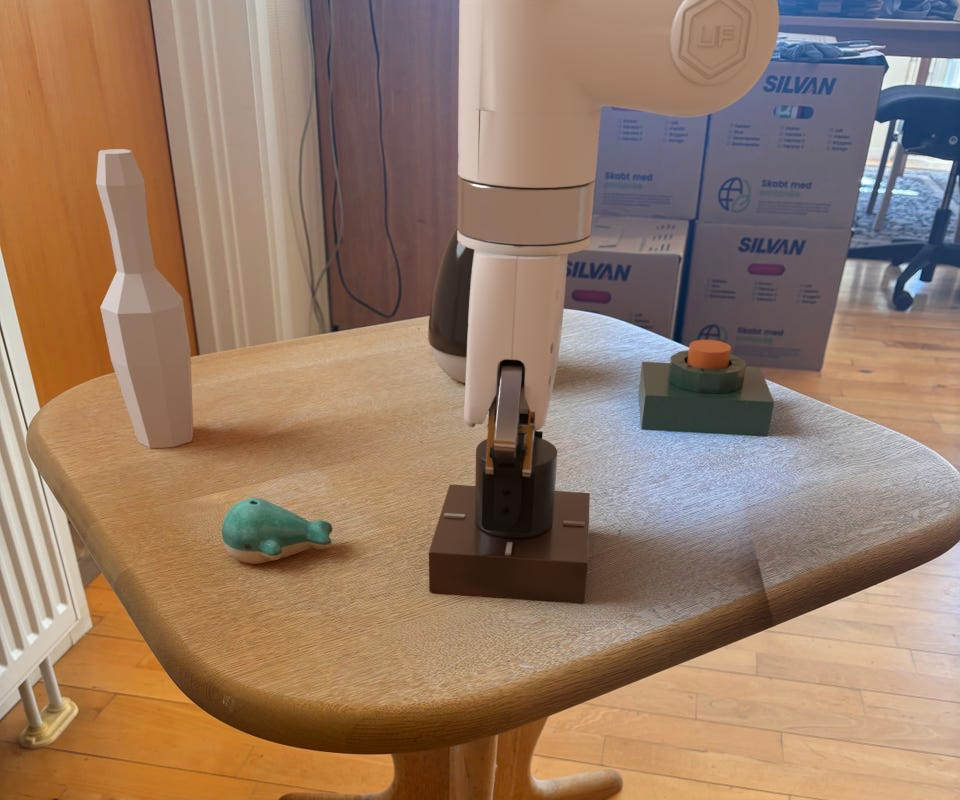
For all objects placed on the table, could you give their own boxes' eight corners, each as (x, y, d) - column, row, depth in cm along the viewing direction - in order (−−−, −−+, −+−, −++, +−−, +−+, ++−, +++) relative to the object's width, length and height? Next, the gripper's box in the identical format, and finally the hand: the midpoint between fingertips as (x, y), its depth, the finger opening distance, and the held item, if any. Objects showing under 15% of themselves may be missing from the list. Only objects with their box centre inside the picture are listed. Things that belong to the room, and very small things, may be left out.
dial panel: (586, 530, 70) (590, 490, 68) (584, 603, 62) (588, 560, 60) (449, 521, 71) (449, 481, 69) (429, 592, 63) (428, 549, 61)
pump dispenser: (469, 403, 90) (471, 230, 82) (409, 371, 97) (404, 209, 89) (553, 382, 95) (563, 217, 87) (490, 353, 102) (493, 197, 94)
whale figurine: (232, 532, 69) (225, 483, 67) (336, 530, 69) (332, 482, 67) (218, 573, 64) (210, 522, 62) (330, 572, 65) (325, 521, 62)
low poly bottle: (136, 457, 79) (76, 160, 67) (120, 430, 84) (61, 147, 71) (213, 443, 82) (169, 155, 69) (193, 418, 86) (149, 143, 74)
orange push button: (725, 359, 88) (728, 340, 87) (730, 373, 85) (733, 353, 84) (685, 357, 88) (688, 338, 87) (688, 371, 85) (691, 351, 84)
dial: (478, 500, 67) (479, 427, 64) (553, 504, 67) (558, 431, 64) (471, 536, 63) (472, 460, 60) (551, 540, 62) (556, 464, 59)
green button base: (754, 400, 92) (764, 348, 89) (767, 437, 85) (778, 381, 82) (638, 394, 93) (644, 342, 90) (641, 430, 86) (647, 374, 83)
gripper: (476, 183, 61) (471, 451, 71) (433, 244, 47) (435, 567, 57) (595, 189, 61) (573, 458, 71) (588, 252, 46) (561, 577, 57)
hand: (511, 504), depth 64 cm, fingers open, 5 cm apart
